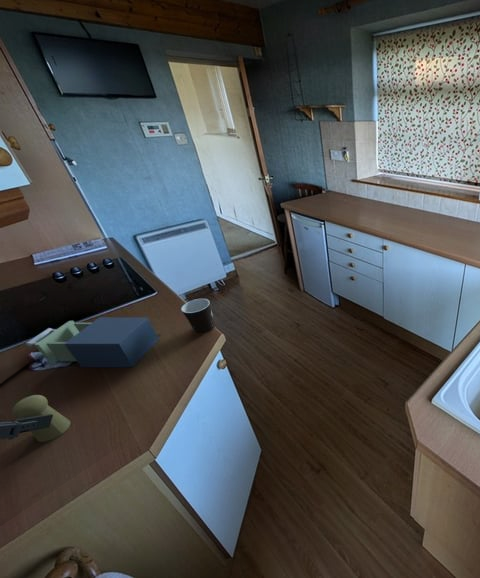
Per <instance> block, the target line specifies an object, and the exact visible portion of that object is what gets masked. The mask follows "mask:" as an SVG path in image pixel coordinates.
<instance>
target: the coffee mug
mask: <svg viewBox="0 0 480 578" xmlns="http://www.w3.org/2000/svg"><path fill="white" fill-rule="evenodd" d="M181 312H182V314H183V315H184V317H185V318H186V320H187V321H188V323H189V325H190V326H191V328H192V329H193V331H194V333H196V334H199V335H203V334H207V333H208V332H209V333H210V332H211V331H213V329H214V328H215V321H214V316H213V310H212V306H211V301H210V300H209V299H207V298H196V299H192V300H189V301H188V302H186V303H184V304H183V305H182V306H181ZM212 325H213V326H212Z"/></svg>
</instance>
